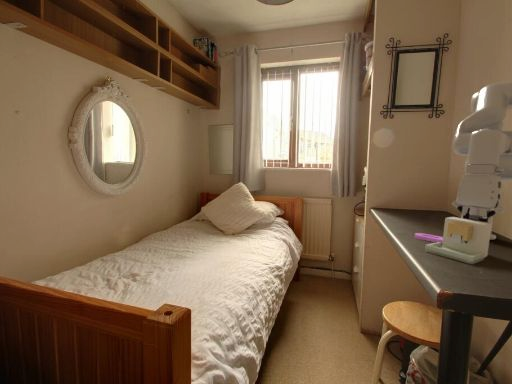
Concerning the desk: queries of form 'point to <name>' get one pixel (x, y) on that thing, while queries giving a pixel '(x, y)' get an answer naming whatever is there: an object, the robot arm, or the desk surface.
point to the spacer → (460, 230)
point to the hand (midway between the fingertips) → (473, 228)
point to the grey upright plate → (459, 238)
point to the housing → (478, 236)
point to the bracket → (428, 237)
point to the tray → (454, 253)
